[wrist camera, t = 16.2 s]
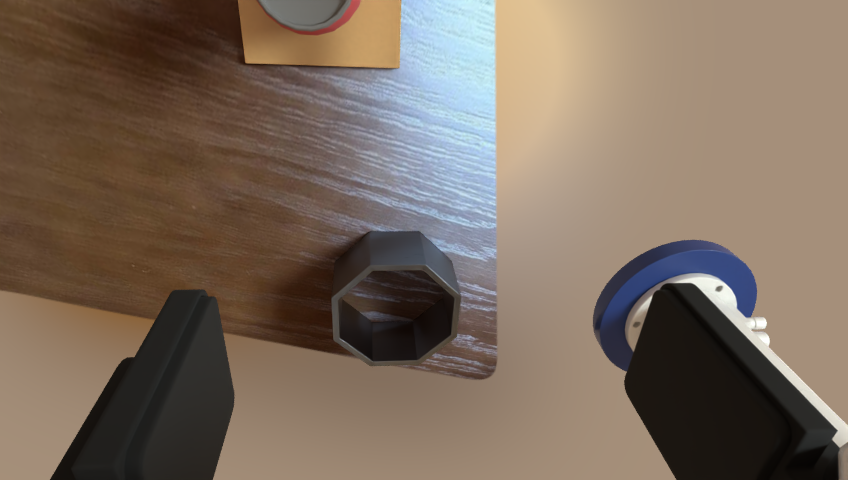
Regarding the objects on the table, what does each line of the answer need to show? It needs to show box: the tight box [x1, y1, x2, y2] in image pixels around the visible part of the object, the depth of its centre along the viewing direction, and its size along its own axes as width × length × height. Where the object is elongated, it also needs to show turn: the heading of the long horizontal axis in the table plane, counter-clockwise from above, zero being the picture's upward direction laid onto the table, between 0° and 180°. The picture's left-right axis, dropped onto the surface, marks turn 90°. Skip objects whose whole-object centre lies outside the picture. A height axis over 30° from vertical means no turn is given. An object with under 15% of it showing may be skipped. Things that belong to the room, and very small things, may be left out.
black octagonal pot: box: [331, 231, 461, 366], centre depth 49 cm, size 12×12×6 cm
